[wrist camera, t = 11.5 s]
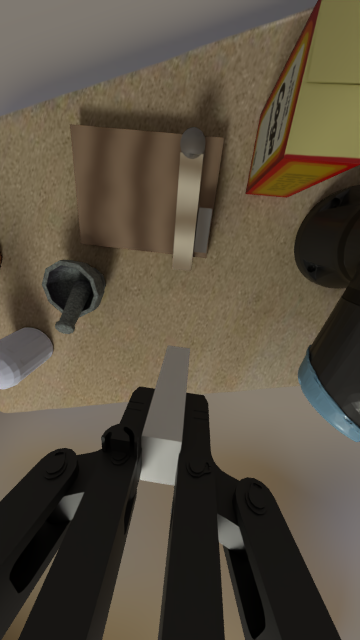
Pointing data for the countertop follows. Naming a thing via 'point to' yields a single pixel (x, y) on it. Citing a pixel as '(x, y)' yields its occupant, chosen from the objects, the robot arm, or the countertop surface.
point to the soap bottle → (22, 355)
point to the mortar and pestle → (72, 291)
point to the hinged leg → (188, 197)
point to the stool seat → (137, 188)
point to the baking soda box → (312, 107)
